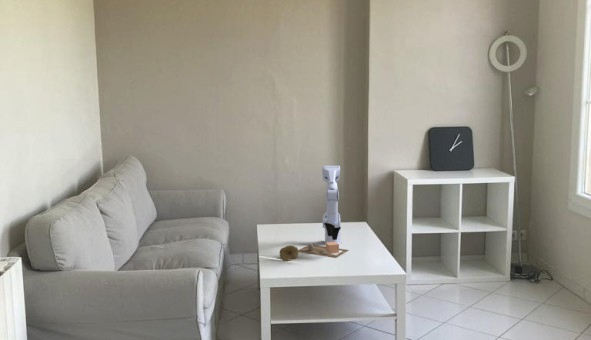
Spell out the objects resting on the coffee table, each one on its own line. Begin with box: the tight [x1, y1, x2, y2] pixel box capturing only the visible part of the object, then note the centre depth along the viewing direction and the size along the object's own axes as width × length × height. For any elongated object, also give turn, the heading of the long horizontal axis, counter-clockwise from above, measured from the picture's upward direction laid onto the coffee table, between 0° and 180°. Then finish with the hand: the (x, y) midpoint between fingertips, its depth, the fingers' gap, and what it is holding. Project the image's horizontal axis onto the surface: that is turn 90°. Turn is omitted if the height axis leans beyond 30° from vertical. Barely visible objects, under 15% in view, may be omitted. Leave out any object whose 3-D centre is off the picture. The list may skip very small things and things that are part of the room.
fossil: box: [279, 245, 300, 262], centre depth 310 cm, size 9×4×10 cm
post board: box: [298, 242, 350, 259], centre depth 321 cm, size 16×24×4 cm, turn 60°
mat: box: [323, 250, 343, 255], centre depth 318 cm, size 8×8×1 cm
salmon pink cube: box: [325, 242, 340, 254], centre depth 317 cm, size 5×5×4 cm
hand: (332, 237), depth 317 cm, fingers open, 7 cm apart
